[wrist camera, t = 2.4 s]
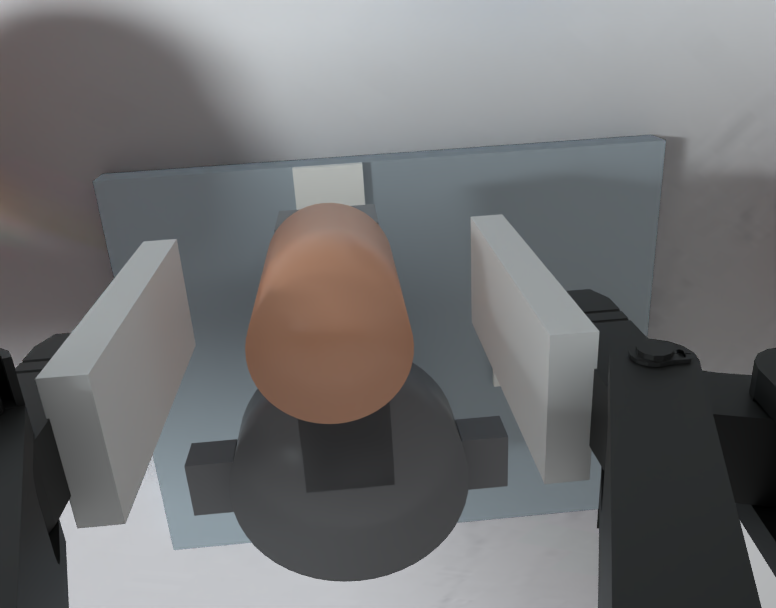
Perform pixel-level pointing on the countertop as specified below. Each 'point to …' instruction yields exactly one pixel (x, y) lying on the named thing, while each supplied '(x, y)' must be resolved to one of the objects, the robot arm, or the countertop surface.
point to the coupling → (341, 414)
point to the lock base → (414, 269)
